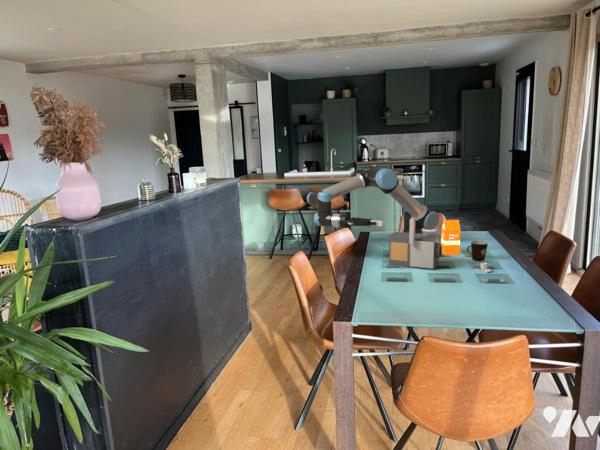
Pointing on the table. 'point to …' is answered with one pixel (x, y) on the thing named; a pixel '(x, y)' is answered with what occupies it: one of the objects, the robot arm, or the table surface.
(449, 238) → the orange juice
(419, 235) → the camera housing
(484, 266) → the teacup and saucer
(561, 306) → the table surface
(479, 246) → the coffee mug
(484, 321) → the table surface
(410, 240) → the side door
